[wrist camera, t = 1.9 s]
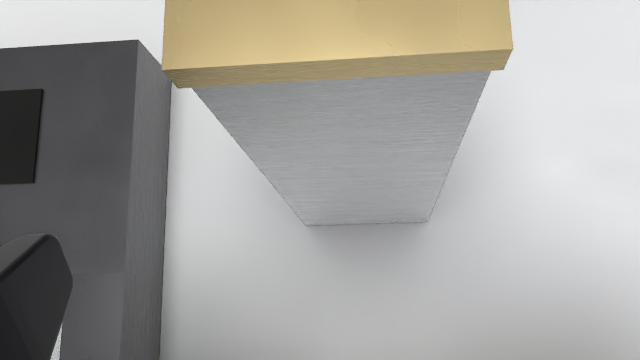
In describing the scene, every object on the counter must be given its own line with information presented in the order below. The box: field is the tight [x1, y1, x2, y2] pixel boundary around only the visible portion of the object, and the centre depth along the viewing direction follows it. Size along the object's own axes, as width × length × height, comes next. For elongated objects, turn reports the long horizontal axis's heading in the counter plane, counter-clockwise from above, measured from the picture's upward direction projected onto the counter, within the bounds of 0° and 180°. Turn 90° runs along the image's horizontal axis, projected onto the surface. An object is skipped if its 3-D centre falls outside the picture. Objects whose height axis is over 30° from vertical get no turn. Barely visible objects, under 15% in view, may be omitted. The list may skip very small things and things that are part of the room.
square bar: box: [162, 0, 513, 226], centre depth 14 cm, size 4×4×13 cm
